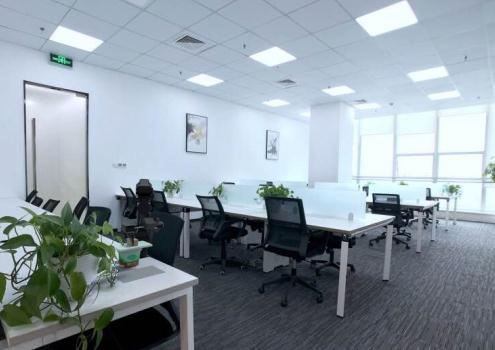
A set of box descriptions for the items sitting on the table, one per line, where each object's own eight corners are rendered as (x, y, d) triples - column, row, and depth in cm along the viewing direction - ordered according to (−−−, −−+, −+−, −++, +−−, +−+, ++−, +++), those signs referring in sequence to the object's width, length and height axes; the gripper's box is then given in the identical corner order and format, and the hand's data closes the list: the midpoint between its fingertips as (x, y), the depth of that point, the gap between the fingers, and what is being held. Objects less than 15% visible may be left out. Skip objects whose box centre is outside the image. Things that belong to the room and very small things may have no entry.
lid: (111, 247, 136) (111, 239, 136) (142, 242, 148) (143, 235, 148) (120, 251, 129) (120, 243, 129) (152, 246, 141) (152, 238, 141)
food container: (123, 271, 131) (123, 250, 131) (116, 268, 135) (117, 247, 135) (146, 265, 141) (147, 245, 141) (139, 262, 145) (140, 243, 145)
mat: (111, 275, 126) (111, 274, 126) (152, 266, 140) (152, 265, 140) (123, 284, 117) (123, 283, 117) (165, 272, 132) (166, 272, 132)
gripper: (131, 215, 119) (130, 251, 119) (170, 212, 133) (168, 244, 133) (120, 212, 127) (119, 246, 127) (158, 209, 141) (157, 240, 141)
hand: (142, 244), depth 132 cm, fingers open, 9 cm apart
